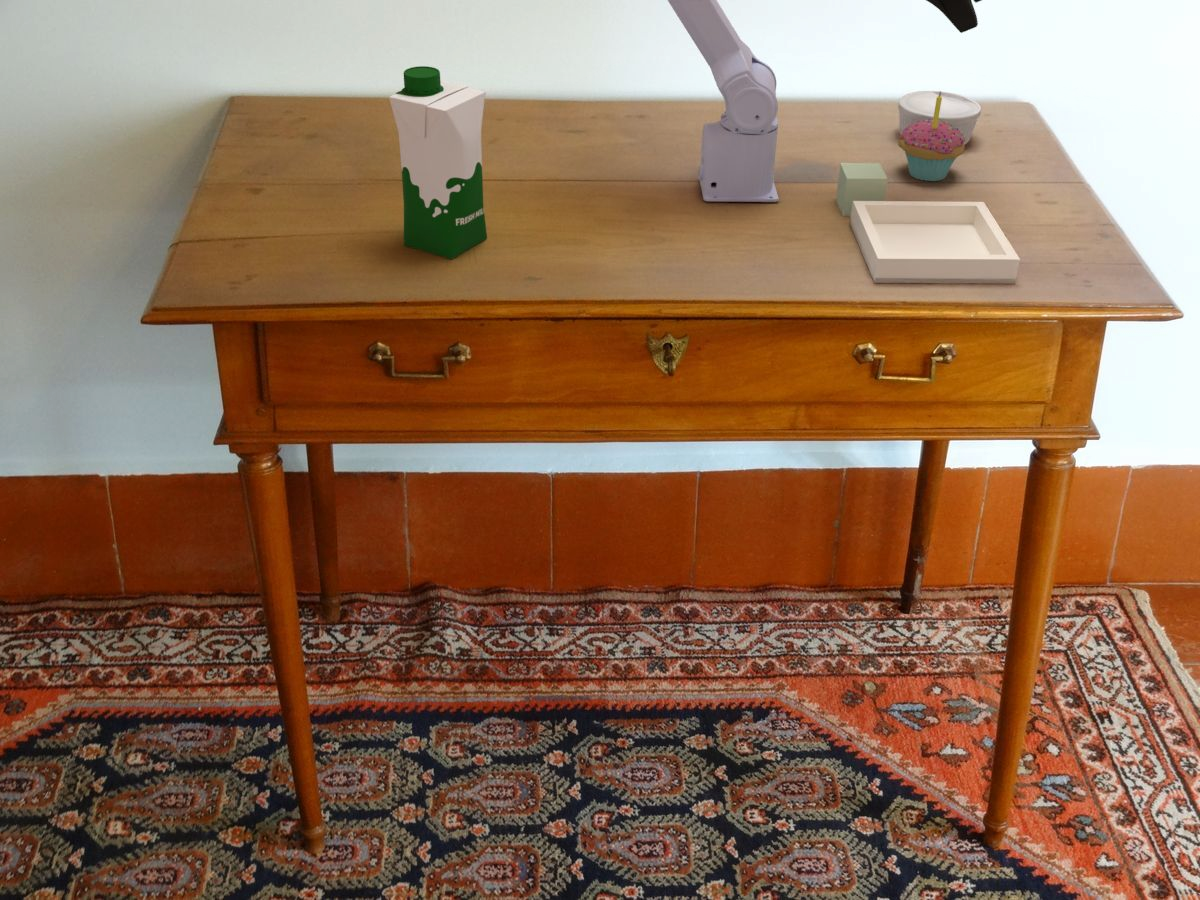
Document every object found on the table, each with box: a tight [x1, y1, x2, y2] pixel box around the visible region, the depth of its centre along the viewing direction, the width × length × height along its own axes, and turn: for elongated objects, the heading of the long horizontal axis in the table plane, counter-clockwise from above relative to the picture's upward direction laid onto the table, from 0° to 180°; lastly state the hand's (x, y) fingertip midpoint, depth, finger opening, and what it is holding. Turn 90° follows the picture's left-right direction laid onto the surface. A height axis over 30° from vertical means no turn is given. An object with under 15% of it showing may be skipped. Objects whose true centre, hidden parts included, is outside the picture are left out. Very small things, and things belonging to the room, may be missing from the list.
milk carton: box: [388, 65, 488, 260], centre depth 154 cm, size 9×9×20 cm
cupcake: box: [897, 90, 965, 182], centre depth 176 cm, size 9×8×12 cm
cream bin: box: [849, 200, 1021, 285], centre depth 158 cm, size 16×16×3 cm
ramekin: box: [897, 90, 982, 146], centre depth 189 cm, size 11×11×5 cm
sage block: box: [835, 162, 889, 217], centre depth 168 cm, size 5×5×5 cm
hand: (976, 13), depth 159 cm, fingers open, 7 cm apart
